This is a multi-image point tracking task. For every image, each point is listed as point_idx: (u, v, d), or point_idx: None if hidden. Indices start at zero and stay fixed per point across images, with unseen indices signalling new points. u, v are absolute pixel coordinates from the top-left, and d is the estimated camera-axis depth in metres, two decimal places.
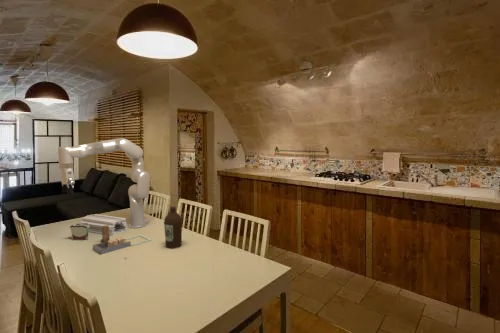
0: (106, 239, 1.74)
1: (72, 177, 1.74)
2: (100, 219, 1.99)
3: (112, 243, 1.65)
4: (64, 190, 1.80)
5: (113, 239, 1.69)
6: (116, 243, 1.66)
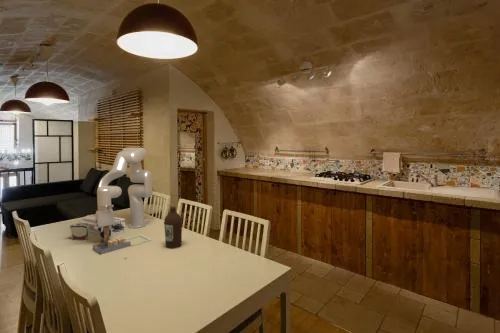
0: (106, 239, 1.74)
1: None
2: None
3: (112, 243, 1.65)
4: None
5: (113, 239, 1.69)
6: (116, 243, 1.66)
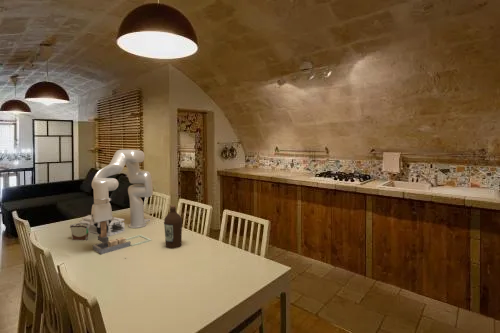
0: (103, 235, 1.61)
1: None
2: None
3: (112, 243, 1.65)
4: None
5: (113, 239, 1.69)
6: (116, 243, 1.66)
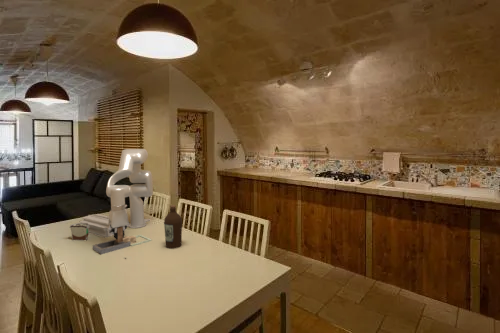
0: (120, 240, 1.68)
1: None
2: (98, 219, 1.98)
3: (125, 240, 1.70)
4: None
5: (125, 236, 1.74)
6: (128, 240, 1.72)
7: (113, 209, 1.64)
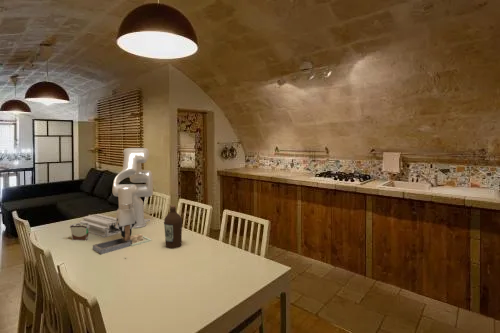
0: (127, 238, 1.72)
1: None
2: (98, 219, 1.98)
3: (132, 239, 1.73)
4: None
5: None
6: (135, 239, 1.75)
7: (121, 208, 1.68)
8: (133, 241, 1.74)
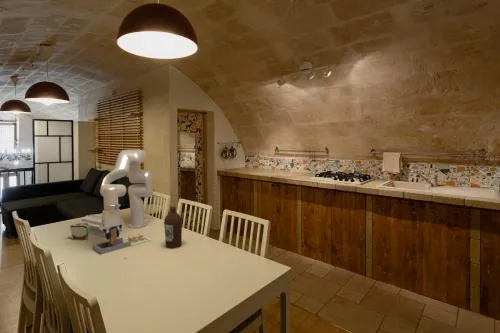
0: (113, 242, 1.65)
1: None
2: (97, 220, 1.97)
3: (132, 239, 1.74)
4: None
5: (133, 235, 1.78)
6: (136, 239, 1.76)
7: (106, 209, 1.61)
8: (134, 241, 1.75)
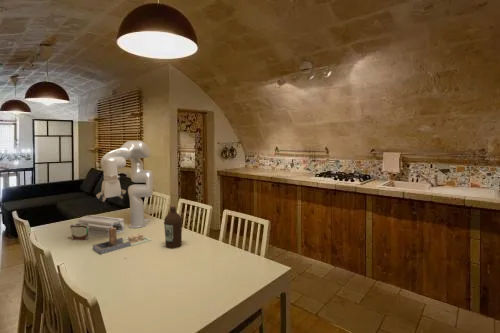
0: (113, 242, 1.65)
1: None
2: (97, 220, 1.97)
3: (132, 239, 1.74)
4: None
5: (133, 235, 1.78)
6: (136, 239, 1.76)
7: (106, 179, 1.66)
8: (134, 241, 1.75)
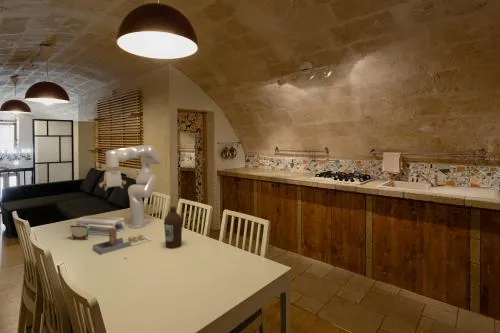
0: (113, 242, 1.65)
1: None
2: (97, 220, 1.96)
3: (132, 239, 1.74)
4: None
5: (133, 235, 1.78)
6: (136, 239, 1.76)
7: (108, 170, 1.82)
8: (134, 241, 1.75)
